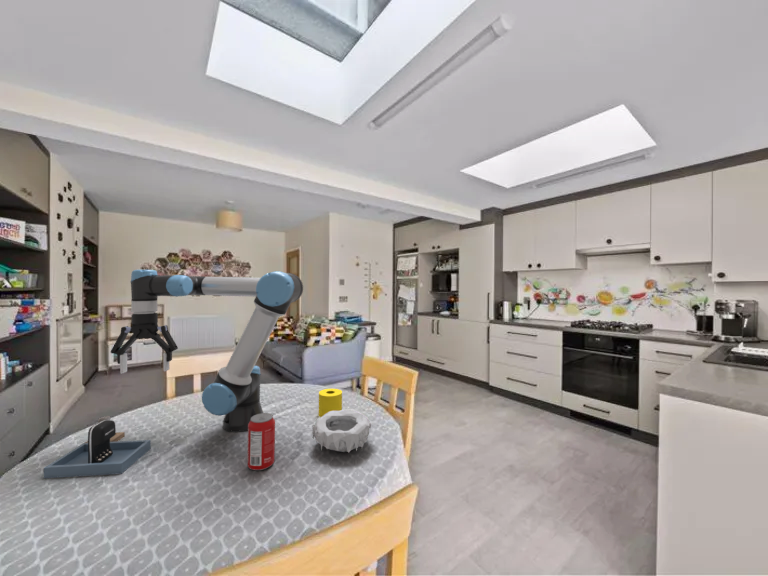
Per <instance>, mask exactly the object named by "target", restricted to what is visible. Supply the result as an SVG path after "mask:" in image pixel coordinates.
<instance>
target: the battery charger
mask: <svg viewBox="0 0 768 576" xmlns="http://www.w3.org/2000/svg"><path fill="white" fill-rule="evenodd" d="M116 429H117V428H116V422H115V421H114V420H112V419H110V420H104V421H101V422H99V423H98V422H96V423H95V424H94V425H92V426H91V427H90V428H89V429H88V432H87V441H88V463H102V462H103V461H104V460H106V459H107V458H108V457H110V456H111V455H112V454H113V452H112V450H111V448H110V438H112V437H113V436H114V435H115V433H116V432H117V431H116Z"/></svg>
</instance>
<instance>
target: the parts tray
mask: <svg viewBox="0 0 768 576" xmlns="http://www.w3.org/2000/svg"><path fill="white" fill-rule="evenodd" d="M151 442H152V441H151V439H144V440H143V439H140V440H121V441H120V440H119V441H116V442H110V448H111V450H112V452H113V454H112V455H111V456H110V457H108V458H107V459H106V460H104V461H103V462H102V463H88V443H85V442H84V443H83V442H82V444H80V445H78V446H77V447H75V448H74V449H72V450H70V451H69V452H67V453H65V454H63V456H61V457H59V458H57V459H55V460H54V461H52V462H50V463H49V464H47V465H46V466H45V467H43V479H53V478H54V479H55V478H56V479H57V478H69V477H70V478H71V477H72V478H73V477H89V476H103V475H104V476H106V475H118V474H119V475H120V474H121V475H122V474H123V473H124V472H126V470H128V469H129V468H130V467H131V466H132V465H134V464H135V463H136V462H137V461H138V460H139V459H140V458H142V457H143V456H144V455H145V454H146V453H148V452H149V451H150V450H151V446H152V445H151Z"/></svg>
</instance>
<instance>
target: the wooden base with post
mask: <svg viewBox="0 0 768 576" xmlns="http://www.w3.org/2000/svg"><path fill="white" fill-rule="evenodd" d="M104 420H111V416H110V415H105V416H102V417H99V418H98V419H97V423H99V422H101V421H104ZM125 435H126V432H125V431H122V432H121V431H120V432H117V431H116V433H115V435H114V436H113V437H112V438H110V442H116V441H120V440H121V441H122V439H124V438H125ZM84 443H88V440H87V441H85V442H84Z"/></svg>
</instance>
